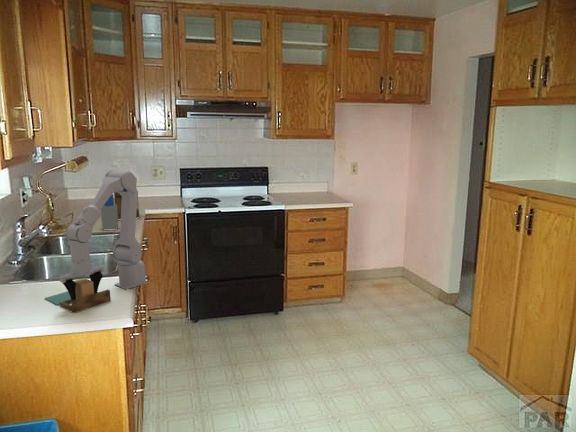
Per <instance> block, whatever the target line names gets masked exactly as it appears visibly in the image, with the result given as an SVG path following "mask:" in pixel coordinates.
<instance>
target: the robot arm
mask: <svg viewBox="0 0 576 432" xmlns="http://www.w3.org/2000/svg"><path fill="white" fill-rule="evenodd" d="M137 181H138V178H137V176H135V175H134V173H133V172H131V171H119V170H117V171H116V170H108V171H107V172H106V173H105V175H104V177H103V178H102V185H101V187H100V188H99V189H98V191H97V194H95V197H94V198H93V200H92V201H91V204H89V205H85V207H83V208H82V209H81V212H80V214H79V215H78V217H77V218H76V219H75V220H74V223H72V224H71V225H68V227H67V228H66V230H65V233H64V236H65V238H66V239H67V240H68V245H69V248H70V257H71V267H72V271H70V272H67V273H65V274H62V275H59V283H61V284H62V285H64V287H65V289H66V291H68V292H69V295H70V297H71V300H75V299H76V292H75V289H76V283H75V282H74V281H75V280H77V279H79V278H80V279H81V278H84V277H89V280H90V281H93V286H94V294H95V293H97V292H99V285H100V283H101V280H102V279H103V273H104V272H105V271H104V266H103V265H96V266H92V267H91V264H92V263H91V257H90V246H89V245H90V242H89V240H90V239H91V238H92V236H93V231H94V229H93V228H94V226H95V225H96V223H97V221H98V220H99V218H101V208H102V207H103V205H104V204H105V203H106V201H107V200H108V199H109V197H110V196H111V195H112V194H113V195H114V193H115V192H118V193H119V194H120V195H121V196H122V205H121V220H120V229H119V230H120V231H119V238H118V239H117V240H115V241H114V247H113V250H112V257H113V259H114V260H115V261H116V263H117V269H118V271H117V272H118V282H115V283H114V286H116V287H119V288H121V289H123V290H124V289H125V290H129V289H132V288H135V287H139V286H142V285H144V284H147V283H148V281H147V276H146V275H147V273H146V272H147V271H146V265H145V263H144V261H143V260H141V259H142V255H143V252H142V249H141V248H142V247H141V243H140V242H139V241H138V239H136V230H137V227H136V226H137V219H136V211H137V191H138V187H137V183H138V182H137Z"/></svg>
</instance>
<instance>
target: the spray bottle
mask: <svg viewBox="0 0 576 432" xmlns="http://www.w3.org/2000/svg"><path fill="white" fill-rule="evenodd" d="M100 212H101V215H100V218H101V228H103V229H116V228H118V227H119V220H118V213H117V205H116V204H115V200H114V193H113V194H112V195H111V196H110V197H109V199H108V200H107V201H106V203H105V204H104V205H103V207H102V208H101V209H100ZM103 229H102V230H103Z"/></svg>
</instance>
